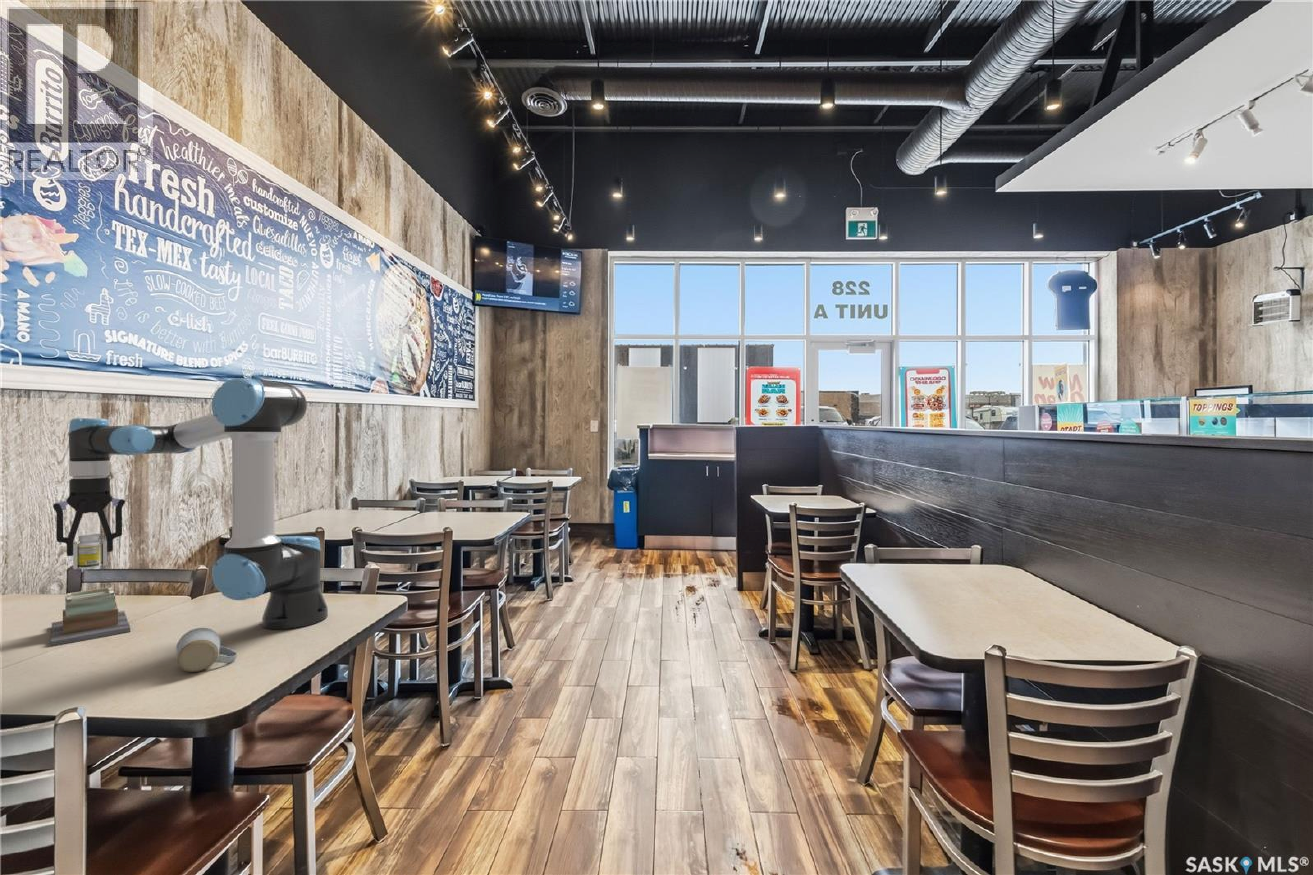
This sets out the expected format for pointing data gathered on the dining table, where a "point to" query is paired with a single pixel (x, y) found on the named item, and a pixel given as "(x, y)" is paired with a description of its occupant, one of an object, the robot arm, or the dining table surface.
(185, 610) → the dining table surface
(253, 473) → the robot arm
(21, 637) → the dining table surface
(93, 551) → the supplement bottle
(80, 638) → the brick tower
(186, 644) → the ceramic mug
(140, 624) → the dining table surface
